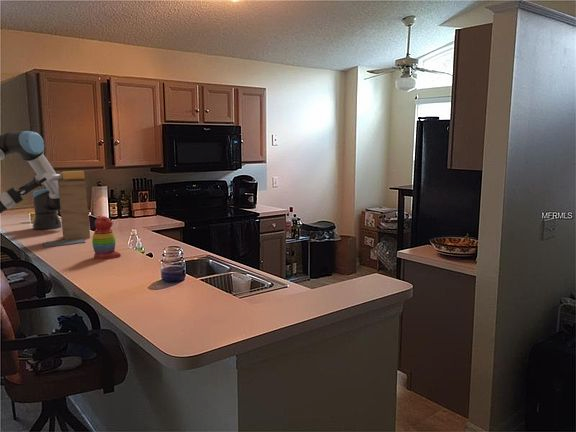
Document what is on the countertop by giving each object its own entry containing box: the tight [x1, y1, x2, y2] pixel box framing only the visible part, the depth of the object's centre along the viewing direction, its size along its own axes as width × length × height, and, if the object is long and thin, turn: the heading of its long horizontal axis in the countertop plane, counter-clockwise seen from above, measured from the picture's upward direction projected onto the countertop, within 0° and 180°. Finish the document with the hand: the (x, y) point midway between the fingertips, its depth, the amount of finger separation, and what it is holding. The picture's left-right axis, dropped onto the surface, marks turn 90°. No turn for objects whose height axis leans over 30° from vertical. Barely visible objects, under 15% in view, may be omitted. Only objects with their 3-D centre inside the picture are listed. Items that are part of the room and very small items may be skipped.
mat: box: [42, 238, 86, 248], centre depth 236 cm, size 10×18×1 cm, turn 121°
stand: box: [58, 178, 91, 240], centre depth 245 cm, size 8×12×31 cm, turn 121°
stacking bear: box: [92, 215, 122, 260], centre depth 205 cm, size 11×10×18 cm
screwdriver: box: [34, 170, 86, 181], centre depth 240 cm, size 22×5×5 cm, turn 126°
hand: (50, 174), depth 238 cm, fingers open, 13 cm apart
